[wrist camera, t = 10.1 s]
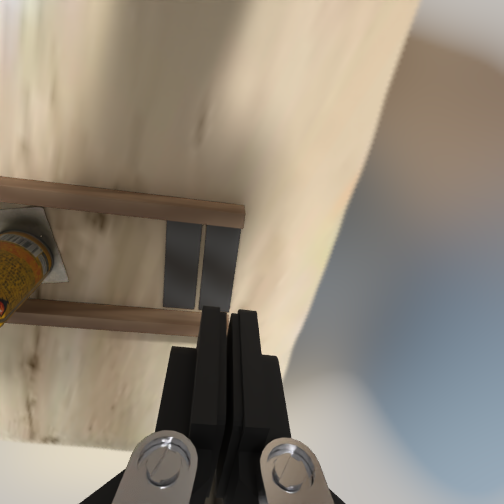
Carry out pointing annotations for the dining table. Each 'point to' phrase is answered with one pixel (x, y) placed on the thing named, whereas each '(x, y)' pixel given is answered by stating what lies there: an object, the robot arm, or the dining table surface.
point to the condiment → (26, 257)
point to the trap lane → (176, 257)
